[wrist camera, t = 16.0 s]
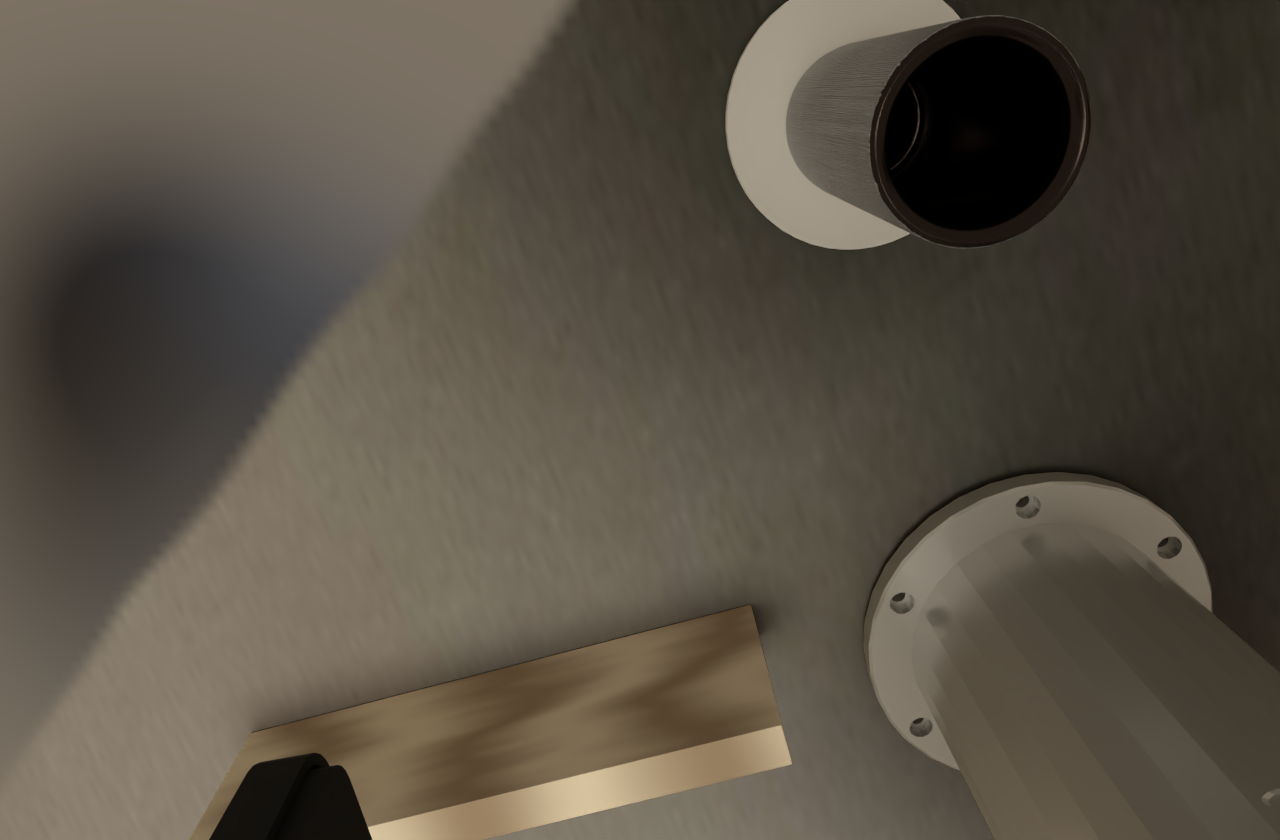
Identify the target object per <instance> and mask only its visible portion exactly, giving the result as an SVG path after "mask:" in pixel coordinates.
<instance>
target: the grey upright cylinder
mask: <svg viewBox="0 0 1280 840" xmlns="http://www.w3.org/2000/svg"><path fill="white" fill-rule="evenodd" d="M1090 132H1091V104H1090V97H1089V93H1088V88H1087V85H1086V82H1085V79H1084V76H1083V74H1082V72H1081V70H1080V68H1079V66H1078V64H1077V62H1076V61H1075V59H1074V57H1073V56H1072V55H1071V53H1070V52H1069V51H1068V49H1067V48H1066V47H1065V46H1064V45H1063V44H1062V43H1061V42H1060V41H1059V40H1058V39H1057V38H1056V37H1054V36H1053V35H1052V34H1050V33H1049V32H1048V31H1046V30H1044V29H1043V28H1041V27H1039V26H1037V25H1035V24H1033V23H1031V22H1028V21H1026V20H1022V19H1019V18H1015V17H1009V16H1001V15H986V16H976V17H970V18H964V19H960V20H955V21H950V22H946V23H941V24H936V25H932V26H927V27H922V28H918V29H913V30H909V31H904V32H899V33H895V34H890V35H885V36H881V37H876V38H872V39H867V40H862V41H858V42H853V43H849V44H846V45H843V46H841V47H839V48H836V49H834V50H832V51H831V52H829V53H827V54H825V55H824V56H822V57H821V58H819V59H818V60H817V61H816V62H815V63H813V64H812V65H811V66H810V67H809V68H808V70H807V71H806V72H805V73H804V74H803V76H802V77H801V79H800V80H799V82H798V83H797V85H796V87H795V89H794V91H793V93H792V96H791V99H790V102H789V105H788V110H787V115H786V137H787V142H788V146H789V150H790V152H791V155H792V157H793V160H794V161H795V163H796V165H797V167H798V168H799V169H800V171H801V172H802V173H803V174H804V176H805V177H806V178H807V179H808V180H809V181H811V182H812V183H813V184H814V185H815V186H817V187H818V188H820V189H821V190H823V191H824V192H826V193H828V194H830V195H832V196H834V197H837V198H839V199H841V200H843V201H845V202H847V203H849V204H851V205H853V206H855V207H857V208H859V209H861V210H863V211H865V212H867V213H869V214H871V215H874V216H876V217H878V218H880V219H882V220H884V221H886V222H888V223H890V224H892V225H894V226H896V227H898V228H900V229H902V230H904V231H906V232H908V233H911V234H913V235H915V236H917V237H919V238H921V239H923V240H926V241H928V242H931V243H934V244H937V245H941V246H945V247H951V248H960V249H971V248H981V247H987V246H992V245H996V244H999V243H1002V242H1005V241H1007V240H1010V239H1012V238H1014V237H1016V236H1018V235H1020V234H1022V233H1024V232H1026V231H1027V230H1029V229H1030V228H1032V227H1033V226H1035V225H1036V224H1037V223H1039V222H1040V221H1041V220H1043V219H1044V218H1045V217H1046V216H1047V215H1048V214H1049V213H1050V212H1051V211H1052V210H1053V209H1054V208H1055V207H1056V206H1057V205H1058V204H1059V203H1060V201H1061V200H1062V199H1063V198H1064V196H1065V195H1066V194H1067V192H1068V191H1069V189H1070V188H1071V186H1072V184H1073V183H1074V181H1075V179H1076V177H1077V175H1078V173H1079V171H1080V169H1081V166H1082V164H1083V161H1084V158H1085V155H1086V152H1087V148H1088V144H1089V138H1090Z"/></svg>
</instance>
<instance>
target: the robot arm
mask: <svg viewBox="0 0 1280 840" xmlns="http://www.w3.org/2000/svg"><path fill="white" fill-rule="evenodd" d="M1021 498H1023V499H1022V500H1021V501H1019V500H1020V499H1021ZM1018 501H1019V502H1018ZM898 593H899V594H898ZM896 594H898V595H896ZM894 595H896V596H894ZM863 650H864V656H865V662H866V668H867V673H868V676H869V679H870V681H871V684H872V686H873V689H874V692H875V694H876V697H877V699H878V701H879V703H880V705H881V707H882V708H883V710H884V712H885V714H886V715H887V717H888V719H889V721H890V723H891V724H892V725H893V726H894V727H895V728H896V730H897V731H898V732H899V733H900V734H901V735H902V737H903V738H904V739H905V740H907V741H908V742H909V743H910V744H911V745H913V746H914V747H916V748H917V749H918V750H920V751H921V752H923V753H924V754H925V755H927V756H928V757H930V758H931V759H933V760H936V761H938V762H940V763H942V764H944V765H947V766H949V767H951V768H953V769H955V770H959V771H961V773H962V775H963V777H964V779H965V781H966V783H967V785H968V787H969V789H970V791H971V793H972V795H973V797H974V799H975V801H976V803H977V805H978V807H979V809H980V811H981V813H982V815H983V817H984V819H985V821H986V823H987V825H988V827H989V829H990V831H991V833H992V835H993V837H994V839H995V840H1280V672H1279V671H1278V670H1276V669H1275V668H1274V667H1273V666H1272V665H1271V664H1270V663H1268V662H1267V661H1266V660H1265V659H1264V658H1263V657H1262V656H1260V655H1259V654H1258V653H1257V652H1256V651H1255V650H1254V649H1252V648H1251V647H1250V646H1249V645H1248V644H1247V643H1246V642H1245V641H1243V640H1242V639H1241V638H1240V637H1239V636H1238V635H1237V634H1235V633H1234V632H1233V631H1232V630H1231V629H1230V628H1229V627H1227V626H1226V625H1225V624H1224V623H1223V622H1222V621H1221V620H1219V619H1218V618H1217V617H1216V616H1215V615H1214V614H1213V605H1212V588H1211V584H1210V580H1209V576H1208V572H1207V569H1206V565H1205V562H1204V560H1203V558H1202V556H1201V555H1200V553H1199V551H1198V549H1197V547H1196V545H1195V544H1194V542H1193V540H1192V538H1191V537H1190V536H1189V535H1188V534H1187V533H1186V532H1185V530H1184V529H1183V528H1182V527H1181V526H1180V525H1179V524H1178V523H1177V522H1176V521H1175V519H1174V518H1173V517H1172V516H1170V515H1169V514H1168V513H1166V512H1165V511H1164V510H1163V509H1161V508H1160V507H1159V506H1157V505H1156V504H1155V503H1153V502H1152V501H1151V500H1150V499H1148V498H1147V497H1145V496H1143V495H1141V494H1139V493H1137V492H1135V491H1134V490H1132V489H1130V488H1128V487H1126V486H1124V485H1122V484H1120V483H1116V482H1113V481H1110V480H1106V479H1103V478H1099V477H1096V476H1093V475H1085V474H1075V473H1065V472H1051V473H1039V474H1026V475H1021V476H1017V477H1013V478H1009V479H1005V480H1002V481H998V482H994V483H990V484H988V485H986V486H983V487H981V488H979V489H977V490H974V491H972V492H970V493H968V494H965V495H963V496H961V497H959V498H957V499H955V500H954V501H952V502H951V503H949V504H948V505H946V506H945V507H943V508H942V509H940V510H939V511H937V512H936V513H934V514H933V515H931V516H930V517H929V518H927V519H926V520H925V521H924V522H923V523H922V524H921V525H920V526H919V527H918V528H917V529H916V530H915V531H913V532H912V533H911V534H910V535H909V536H908V537H907V538H906V539H905V540H904V541H903V543H902V544H901V545H900V547H899V548H898V549H897V551H896V552H895V553H894V555H893V556H892V557H891V559H890V560H889V561H888V563H887V564H886V565H885V567H884V569H883V571H882V573H881V575H880V577H879V579H878V581H877V583H876V585H875V587H874V589H873V591H872V595H871V598H870V602H869V606H868V609H867V613H866V617H865V622H864V641H863ZM209 840H372V837H371V835H370V832H369V829H368V826H367V824H366V821H365V818H364V816H363V813H362V810H361V807H360V805H359V802H358V799H357V797H356V794H355V791H354V788H353V786H352V783H351V780H350V778H349V776H348V774H347V772H346V770H345V769H344V768H343V767H342V766H340V765H334V766H329V764H328V762H327V760H326V759H325V758H324V757H323V756H322V755H321V754H318V753H309V754H304V755H298V756H292V757H287V758H281V759H275V760H270V761H264V762H259V763H257V764H255V765H253V766H252V767H251V769H250V770H249V771H248V772H247V774H246V775H245V777H244V779H243V781H242V783H241V784H240V786H239V788H238V790H237V791H236V793H235V795H234V797H233V798H232V800H231V802H230V804H229V805H228V807H227V809H226V811H225V812H224V814H223V816H222V818H221V819H220V821H219V823H218V825H217V826H216V828H215V830H214V832H213V833H212V835H211V837H210V839H209Z"/></svg>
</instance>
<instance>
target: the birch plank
mask: <svg viewBox="0 0 1280 840" xmlns="http://www.w3.org/2000/svg"><path fill="white" fill-rule="evenodd" d="M309 753H318V754H321V755H322V756H323V757H324V758H325V759H326V760H327V762H328V764H329V766H334V765H340V766H342V767H343V768H344V769H345V770H346V772H347V774H348V776H349V778H350V780H351V783H352V786H353V788H354V791H355V794H356V797H357V799H358V802H359V805H360V807H361V810H362V813H363V816H364V818H365V821H366V824H367V826H368V829H369V832H370V835H371V837H372V840H483V839H487V838H491V837H495V836H499V835H504V834H508V833H512V832H516V831H520V830H524V829H528V828H532V827H536V826H541V825H545V824H549V823H553V822H557V821H561V820H565V819H569V818H573V817H578V816H582V815H586V814H590V813H594V812H598V811H602V810H606V809H610V808H614V807H619V806H623V805H627V804H631V803H635V802H639V801H643V800H647V799H651V798H656V797H660V796H664V795H668V794H672V793H676V792H680V791H684V790H688V789H693V788H697V787H701V786H705V785H709V784H713V783H717V782H721V781H725V780H729V779H734V778H738V777H742V776H746V775H750V774H754V773H758V772H762V771H766V770H771V769H775V768H779V767H783V766H787V765H791V764H792V761H791V757H790V754H789V750H788V746H787V742H786V738H785V734H784V730H783V726H782V722H781V718H780V714H779V710H778V707H777V703H776V699H775V695H774V691H773V687H772V683H771V679H770V675H769V671H768V667H767V663H766V660H765V656H764V652H763V648H762V644H761V640H760V636H759V633H758V629H757V625H756V622H755V618H754V615H753V611H752V608H751V605H747V606H743V607H739V608H736V609H732V610H728V611H724V612H720V613H716V614H712V615H708V616H705V617H701V618H697V619H693V620H689V621H685V622H681V623H677V624H673V625H670V626H666V627H662V628H658V629H654V630H650V631H646V632H642V633H638V634H635V635H631V636H627V637H623V638H619V639H615V640H611V641H607V642H603V643H600V644H596V645H592V646H588V647H584V648H580V649H576V650H572V651H568V652H565V653H561V654H557V655H553V656H549V657H545V658H541V659H537V660H533V661H530V662H526V663H522V664H518V665H514V666H510V667H506V668H502V669H499V670H495V671H491V672H487V673H483V674H479V675H475V676H471V677H467V678H464V679H460V680H456V681H452V682H448V683H444V684H440V685H436V686H432V687H429V688H425V689H421V690H417V691H413V692H409V693H405V694H401V695H397V696H394V697H390V698H386V699H382V700H378V701H374V702H370V703H366V704H362V705H359V706H355V707H351V708H347V709H343V710H339V711H335V712H331V713H327V714H324V715H320V716H316V717H312V718H308V719H304V720H300V721H296V722H293V723H289V724H285V725H281V726H277V727H273V728H269V729H265V730H261V731H258V732H254V733H251V734H250V736H249V737H248V739H247V741H246V742H245V744H244V746H243V748H242V749H241V751H240V753H239V755H238V756H237V758H236V760H235V761H234V763H233V765H232V767H231V768H230V770H229V772H228V774H227V775H226V777H225V779H224V780H223V782H222V784H221V786H220V787H219V789H218V791H217V793H216V794H215V796H214V798H213V799H212V801H211V803H210V805H209V806H208V808H207V810H206V812H205V813H204V815H203V817H202V818H201V820H200V822H199V824H198V825H197V827H196V829H195V831H194V832H193V834H192V836H191V837H190V839H189V840H209V839H210V837H211V835H212V833H213V832H214V830H215V828H216V826H217V825H218V823H219V821H220V819H221V818H222V816H223V814H224V812H225V811H226V809H227V807H228V805H229V804H230V802H231V800H232V798H233V797H234V795H235V793H236V791H237V790H238V788H239V786H240V784H241V783H242V781H243V779H244V777H245V775H246V774H247V772H248V771H249V770H250V769H251V767H252V766H253V765H255V764H257V763H259V762H264V761H270V760H275V759H281V758H287V757H292V756H298V755H304V754H309Z"/></svg>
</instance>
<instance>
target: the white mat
mask: <svg viewBox="0 0 1280 840" xmlns="http://www.w3.org/2000/svg"><path fill="white" fill-rule="evenodd" d="M960 19H961V18H960V17H959V16H958V15H957V14H956V13H955V11H954V10H953V9H952V8H951V7H950V6H949V5H947V4H946V3H945V2H944V1H943V0H789V1H787V2H786V3H784V4H783V5H782V6H781V7H779V8H778V9H777V10H776V11H775V12H774V13H772V14H771V15H770V16H769V17H768V18H767V19H766V21H765V22H764V23H763V24H762V25H761V26H760V27H759V28H758V29H757V31H756V32H755V34H754V35H753V36H752V38H751V39H750V41H749V42H748V44H747V45H746V47H745V49H744V51H743V53H742V55H741V56H740V58H739V60H738V63H737V65H736V68H735V70H734V73H733V76H732V79H731V83H730V86H729V90H728V94H727V102H726V110H725V134H726V142H727V149H728V153H729V157H730V161H731V164H732V167H733V169H734V172H735V174H736V177H737V179H738V181H739V183H740V185H741V187H742V188H743V190H744V192H745V194H746V195H747V196H748V198H749V199H750V200H751V202H752V203H753V204H754V206H755V207H756V208H757V209H758V210H759V211H760V212H761V213H762V214H763V215H764V216H765V217H766V218H767V219H768V220H769V221H771V222H772V223H773V224H775V225H776V226H777V227H778V228H780V229H781V230H782V231H784V232H786V233H788V234H789V235H791V236H793V237H795V238H797V239H799V240H802V241H804V242H807V243H809V244H812V245H816V246H821V247H825V248H831V249H841V250H851V249H864V248H870V247H876V246H880V245H883V244H886V243H890V242H893V241H895V240H897V239H900V238H902V237H904V236H906V235H908V234H910V233H908V232H906V231H904V230H902V229H900V228H898V227H896V226H894V225H892V224H890V223H888V222H886V221H884V220H882V219H880V218H878V217H876V216H874V215H871V214H869V213H867V212H865V211H863V210H861V209H859V208H857V207H855V206H853V205H851V204H849V203H847V202H845V201H843V200H841V199H839V198H837V197H834V196H832V195H830V194H828V193H826V192H824V191H823V190H821V189H820V188H818V187H817V186H815V185H814V184H813V183H812V182H811V181H809V180H808V179H807V178H806V177H805V176H804V174H803V173H802V172H801V171H800V169H799V168H798V167H797V165H796V163H795V161H794V160H793V157H792V155H791V152H790V150H789V146H788V142H787V137H786V115H787V110H788V105H789V102H790V99H791V96H792V93H793V91H794V89H795V87H796V85H797V83H798V82H799V80H800V79H801V77H802V76H803V74H804V73H805V72H806V71H807V70H808V68H809V67H810V66H811V65H812V64H813V63H815V62H816V61H817V60H818V59H819V58H821V57H822V56H824V55H825V54H827V53H829V52H831V51H832V50H834V49H836V48H839V47H841V46H843V45H846V44H849V43H853V42H858V41H862V40H867V39H872V38H876V37H881V36H885V35H890V34H895V33H899V32H904V31H909V30H913V29H918V28H922V27H927V26H932V25H936V24H941V23H946V22H950V21H955V20H960Z"/></svg>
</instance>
